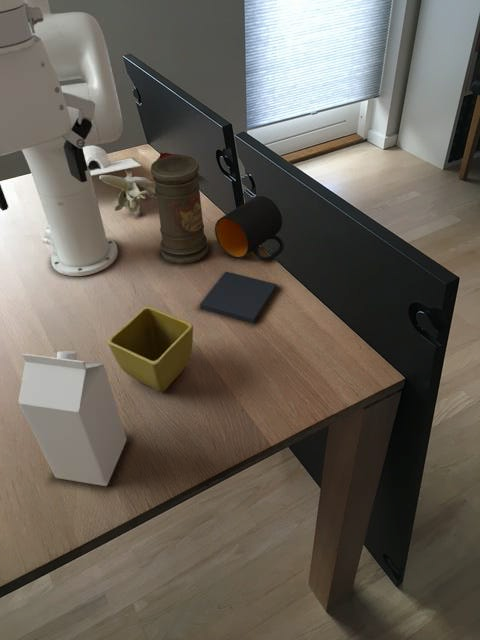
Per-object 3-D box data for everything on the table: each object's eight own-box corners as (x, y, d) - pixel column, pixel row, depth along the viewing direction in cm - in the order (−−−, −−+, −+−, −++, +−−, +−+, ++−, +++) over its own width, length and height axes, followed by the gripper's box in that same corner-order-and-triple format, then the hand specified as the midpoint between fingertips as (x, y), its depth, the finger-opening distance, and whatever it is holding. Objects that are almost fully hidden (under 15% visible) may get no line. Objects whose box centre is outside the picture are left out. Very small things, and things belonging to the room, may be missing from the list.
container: (154, 259, 103) (138, 172, 91) (175, 235, 109) (163, 150, 97) (196, 268, 100) (186, 180, 88) (215, 243, 106) (208, 157, 94)
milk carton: (107, 487, 67) (69, 387, 54) (55, 478, 68) (5, 378, 56) (127, 440, 72) (96, 338, 59) (78, 432, 73) (38, 331, 61)
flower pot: (164, 408, 76) (155, 364, 70) (117, 384, 80) (105, 341, 74) (200, 368, 81) (194, 324, 75) (155, 348, 85) (146, 304, 79)
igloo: (48, 184, 114) (40, 158, 111) (50, 174, 131) (44, 152, 129) (141, 165, 118) (135, 141, 116) (131, 158, 136) (126, 137, 133)
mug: (284, 255, 108) (252, 280, 102) (243, 214, 109) (209, 235, 104) (302, 230, 101) (269, 255, 95) (258, 187, 103) (223, 208, 97)
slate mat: (200, 308, 92) (199, 304, 91) (226, 275, 98) (225, 271, 98) (253, 323, 88) (253, 319, 88) (276, 288, 95) (276, 284, 94)
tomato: (177, 172, 121) (181, 189, 127) (193, 149, 122) (197, 167, 129) (147, 157, 122) (154, 175, 129) (164, 134, 124) (170, 154, 131)
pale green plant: (168, 225, 116) (101, 212, 108) (145, 207, 129) (82, 194, 121) (178, 186, 114) (110, 169, 106) (153, 171, 126) (90, 156, 118)
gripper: (57, 8, 58) (93, 159, 69) (-115, 41, 50) (-44, 205, 61) (89, 19, 53) (122, 178, 65) (-95, 56, 46) (-22, 230, 57)
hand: (41, 191), depth 63 cm, fingers open, 9 cm apart
